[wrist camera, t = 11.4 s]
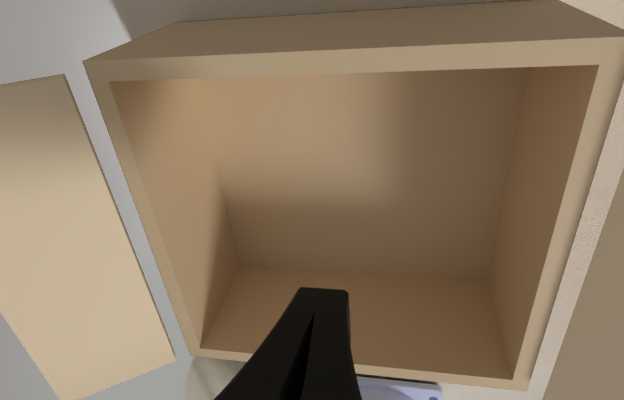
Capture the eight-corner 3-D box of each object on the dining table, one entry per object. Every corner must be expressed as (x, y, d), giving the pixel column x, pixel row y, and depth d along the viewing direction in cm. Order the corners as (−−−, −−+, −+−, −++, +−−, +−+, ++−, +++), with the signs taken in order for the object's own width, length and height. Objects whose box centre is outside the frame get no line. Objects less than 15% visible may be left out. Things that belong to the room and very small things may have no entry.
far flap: (63, 405, 17) (64, 395, 17) (176, 360, 18) (174, 352, 19) (-136, 113, 10) (-127, 106, 11) (63, 77, 12) (64, 73, 12)
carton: (497, 282, 21) (526, 391, 16) (234, 267, 24) (190, 356, 19) (555, -2, 14) (637, 36, 9) (175, 22, 17) (82, 61, 12)
